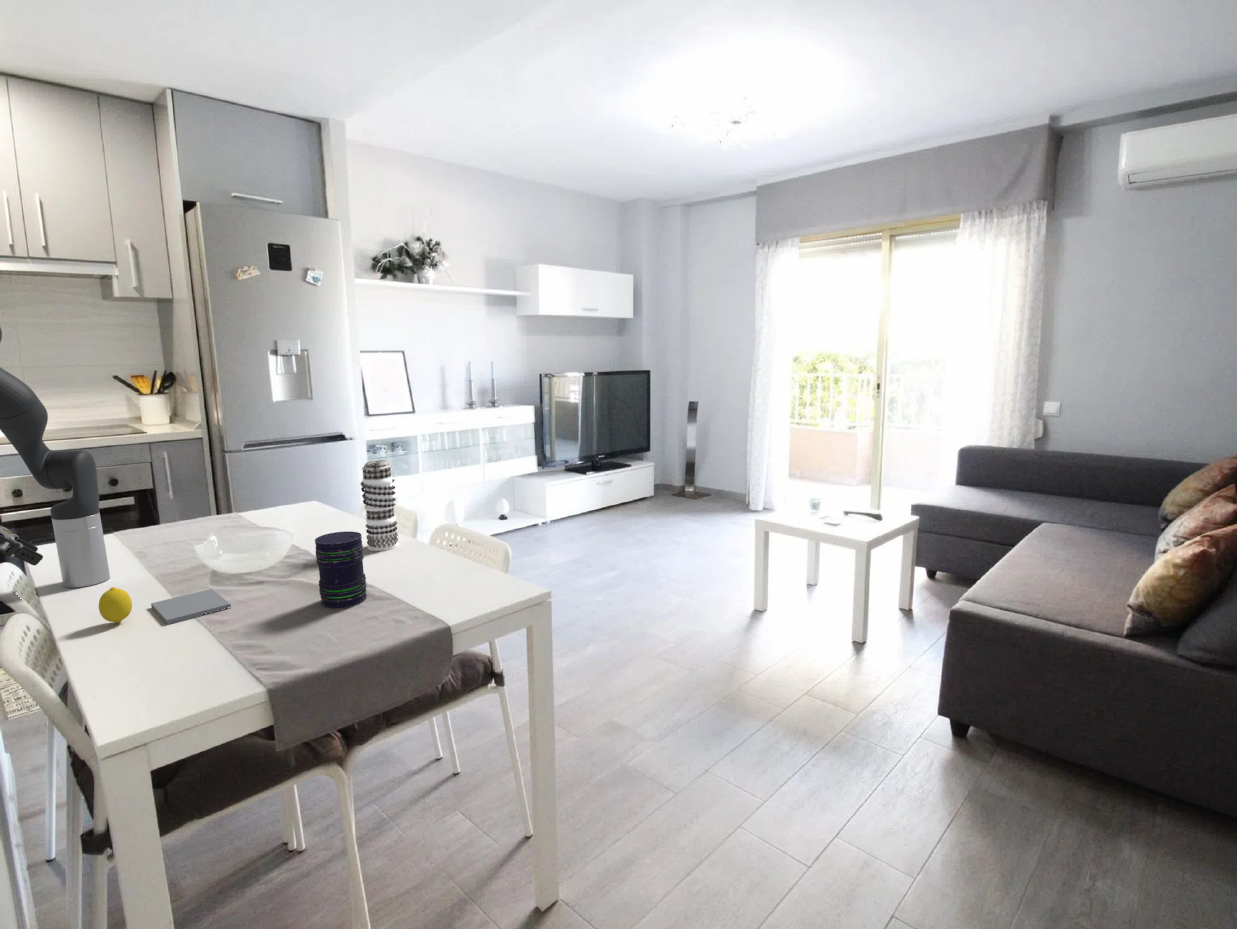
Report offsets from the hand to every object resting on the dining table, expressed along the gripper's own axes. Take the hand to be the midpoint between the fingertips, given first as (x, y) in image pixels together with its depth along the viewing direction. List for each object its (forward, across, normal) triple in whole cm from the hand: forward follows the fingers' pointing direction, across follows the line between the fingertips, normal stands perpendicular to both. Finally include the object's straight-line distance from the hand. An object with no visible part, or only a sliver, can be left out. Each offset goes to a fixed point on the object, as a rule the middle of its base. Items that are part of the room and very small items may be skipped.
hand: (37, 556), depth 128 cm
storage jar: (+47, -24, -22) cm, 57 cm away
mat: (+29, -2, -5) cm, 29 cm away
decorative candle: (+65, +9, -41) cm, 77 cm away
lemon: (+20, 0, +5) cm, 21 cm away
